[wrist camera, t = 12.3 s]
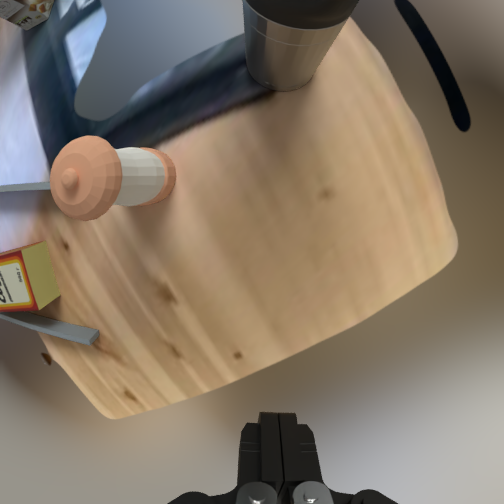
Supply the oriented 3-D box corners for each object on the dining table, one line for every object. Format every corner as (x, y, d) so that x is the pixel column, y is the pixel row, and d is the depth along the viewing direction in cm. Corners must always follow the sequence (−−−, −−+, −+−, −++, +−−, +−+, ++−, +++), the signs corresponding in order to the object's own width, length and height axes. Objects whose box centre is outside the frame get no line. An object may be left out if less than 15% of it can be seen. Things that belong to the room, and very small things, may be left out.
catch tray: (-13, 186, 35) (-25, 188, 32) (88, 180, 36) (75, 181, 32) (1, 308, 41) (-9, 314, 38) (99, 335, 42) (90, 345, 38)
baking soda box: (39, 310, 34) (-10, 312, 35) (60, 294, 40) (10, 299, 41) (21, 250, 32) (-26, 263, 32) (45, 240, 38) (-4, 254, 39)
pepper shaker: (120, 161, 35) (26, 155, 17) (167, 142, 35) (93, 113, 16) (134, 210, 37) (47, 240, 18) (182, 193, 36) (117, 209, 18)
